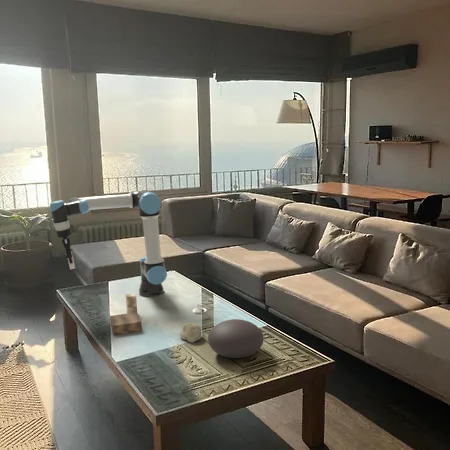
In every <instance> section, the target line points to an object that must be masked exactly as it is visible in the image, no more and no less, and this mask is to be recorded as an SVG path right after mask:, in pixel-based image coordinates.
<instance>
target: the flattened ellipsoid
mask: <svg viewBox="0 0 450 450" xmlns="http://www.w3.org/2000/svg"><path fill="white" fill-rule="evenodd" d="M207 343H208V345H209V347H210V349H211V350H212V351H213V352H214V353H216V354H218V355H220V356H222V357H224V358H228V359H229V358H230V359H243V358H246V357H250V356H253V354H256V353H257V352H258V351H259V350H261V347H262V346H263V343H264V333H263V332H262V330H261V328H260V327H259V326H258V325H256V324H254V323H253V322H250V321H249V320H245V319H237V318H236V319H233V318H231V319H227V320H223V321H221V322H218V323H217V324H215V325H214V326H213V327H212V328H211V329H210V330H209V333H208V336H207Z"/></svg>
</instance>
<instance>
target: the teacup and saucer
mask: <svg viewBox="0 0 450 450" xmlns="http://www.w3.org/2000/svg"><path fill="white" fill-rule="evenodd" d="M202 310H204V311H202ZM207 311H208V309H207V308H205V307H203V304H202V303H200V302H199V303H196V307H195V308H193V309H192V313H195V314H203V313H205V312H207Z"/></svg>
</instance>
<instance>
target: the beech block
mask: <svg viewBox="0 0 450 450" xmlns="http://www.w3.org/2000/svg"><path fill="white" fill-rule="evenodd" d="M125 303H126V314H127V313H134V312H137V313H138V303H137V295H136V293H134V292H133V293H127V294H125Z"/></svg>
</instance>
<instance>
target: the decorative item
mask: <svg viewBox="0 0 450 450" xmlns="http://www.w3.org/2000/svg"><path fill="white" fill-rule="evenodd" d="M202 333H203V332H202V328H201V326H199V325H198V324H197V323H195V322H189V323H185V324H183V325H182V328H181V330H180V333H179V338H180V339H182V340H186V341H188V343H196V342H197V341H200V339H201V337H202Z"/></svg>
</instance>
